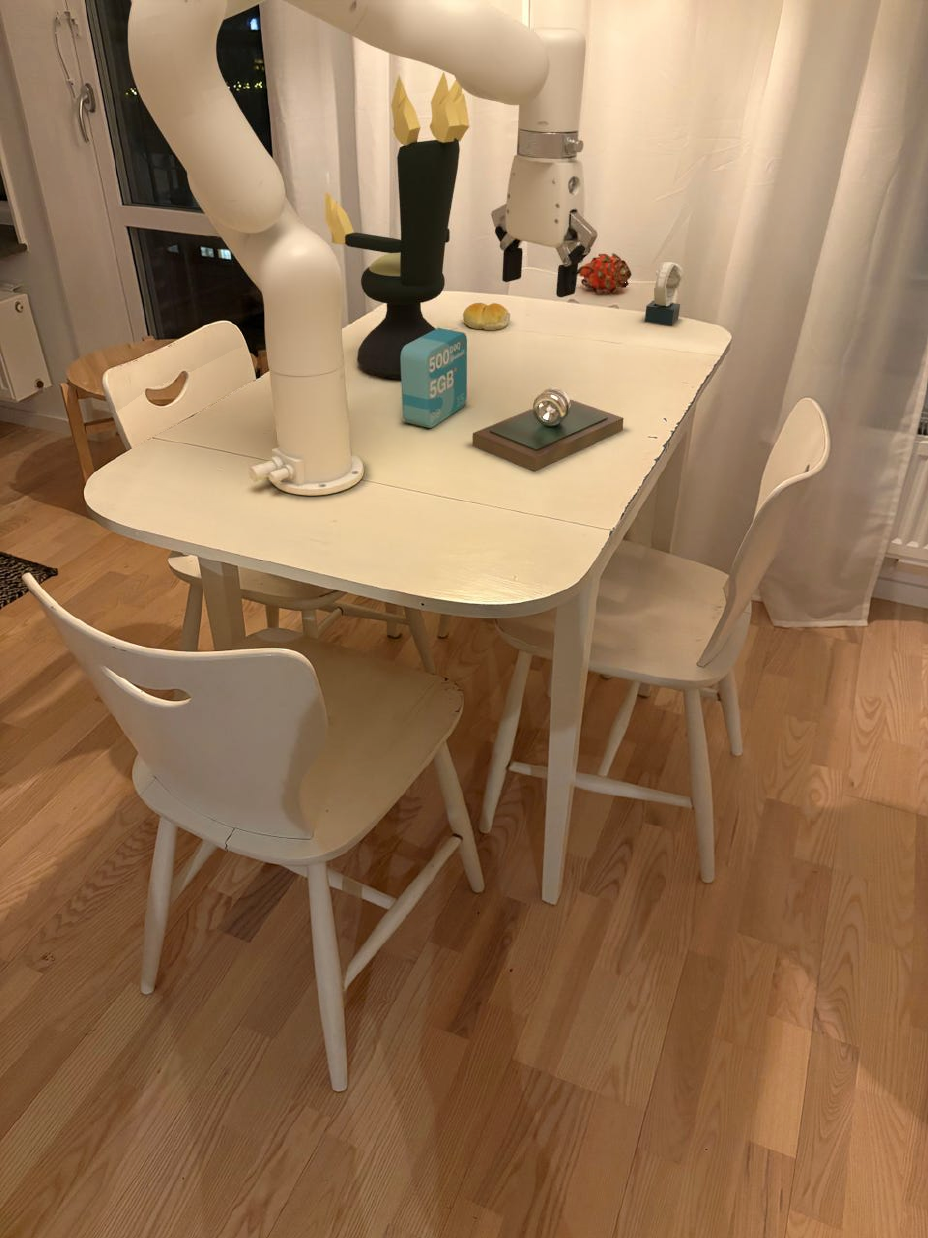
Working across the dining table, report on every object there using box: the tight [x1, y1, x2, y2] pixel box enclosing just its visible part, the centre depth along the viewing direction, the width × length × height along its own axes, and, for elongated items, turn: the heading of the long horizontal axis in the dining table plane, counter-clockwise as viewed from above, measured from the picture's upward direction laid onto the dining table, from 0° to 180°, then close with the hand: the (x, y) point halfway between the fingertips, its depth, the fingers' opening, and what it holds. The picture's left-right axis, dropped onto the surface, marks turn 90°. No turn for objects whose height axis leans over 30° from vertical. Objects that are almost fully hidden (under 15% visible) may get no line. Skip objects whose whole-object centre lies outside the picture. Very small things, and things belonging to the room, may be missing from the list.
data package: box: [400, 327, 468, 429], centre depth 139 cm, size 12×4×12 cm, turn 150°
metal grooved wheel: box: [532, 387, 571, 427], centre depth 133 cm, size 5×3×5 cm, turn 65°
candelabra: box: [324, 71, 470, 380], centre depth 147 cm, size 19×22×45 cm
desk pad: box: [472, 398, 624, 472], centre depth 135 cm, size 20×12×2 cm, turn 135°
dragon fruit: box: [577, 252, 633, 295], centre depth 197 cm, size 8×8×12 cm
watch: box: [644, 261, 685, 327], centre depth 179 cm, size 6×8×11 cm
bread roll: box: [462, 302, 511, 331], centre depth 179 cm, size 8×9×4 cm
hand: (538, 287), depth 123 cm, fingers open, 9 cm apart
